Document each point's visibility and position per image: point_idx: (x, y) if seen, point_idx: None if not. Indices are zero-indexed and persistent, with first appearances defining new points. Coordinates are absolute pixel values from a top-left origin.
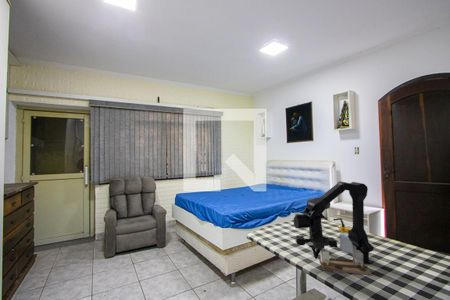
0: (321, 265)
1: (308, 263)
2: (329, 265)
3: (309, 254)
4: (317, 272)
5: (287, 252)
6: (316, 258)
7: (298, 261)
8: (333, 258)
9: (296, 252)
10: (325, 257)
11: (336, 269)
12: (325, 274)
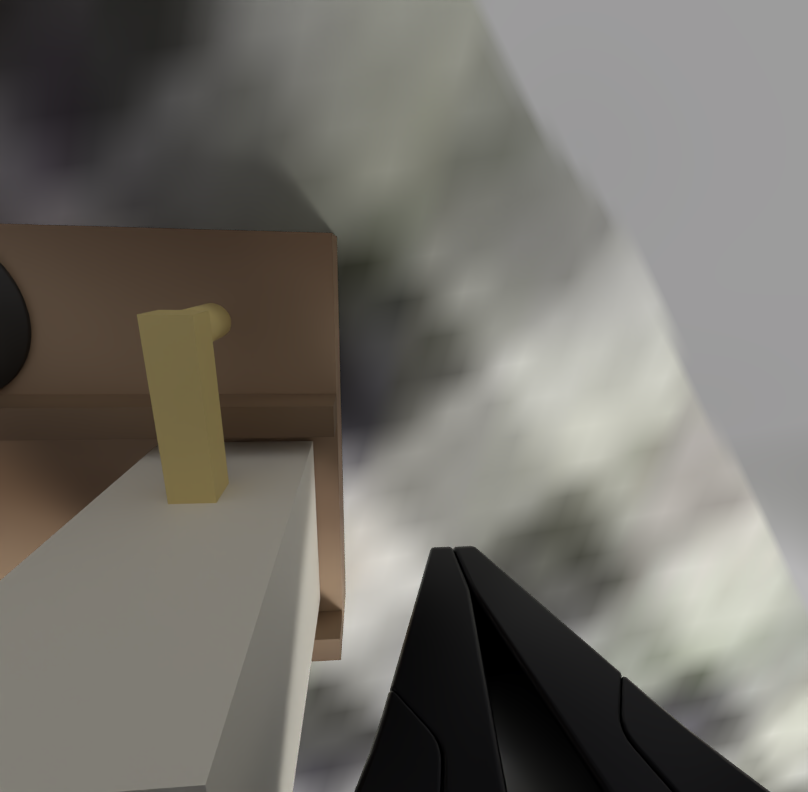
0: (341, 438)
1: (568, 483)
2: None
3: None
4: (502, 135)
5: (776, 748)
6: (446, 549)
7: (722, 521)
8: None
9: None
10: (183, 537)
11: (10, 227)
12: (340, 55)
